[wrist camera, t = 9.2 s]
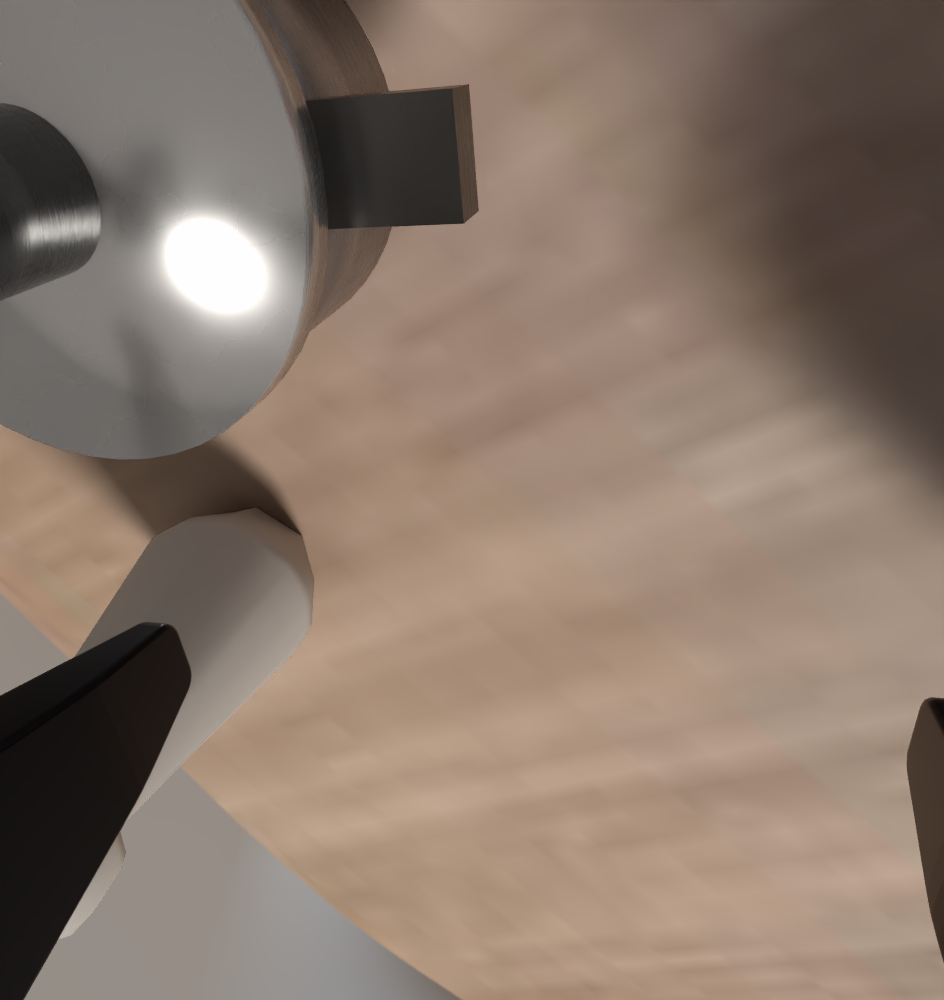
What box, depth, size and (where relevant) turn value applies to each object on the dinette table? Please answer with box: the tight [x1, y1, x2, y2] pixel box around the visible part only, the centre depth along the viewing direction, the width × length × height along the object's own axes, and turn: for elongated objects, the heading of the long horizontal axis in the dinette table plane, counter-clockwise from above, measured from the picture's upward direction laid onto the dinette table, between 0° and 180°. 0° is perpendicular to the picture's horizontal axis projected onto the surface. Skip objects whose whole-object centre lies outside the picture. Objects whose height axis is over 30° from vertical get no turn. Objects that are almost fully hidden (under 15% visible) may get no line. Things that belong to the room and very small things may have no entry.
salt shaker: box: [59, 507, 314, 939], centre depth 22 cm, size 6×6×13 cm
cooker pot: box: [258, 0, 479, 331], centre depth 17 cm, size 16×10×6 cm, turn 95°
